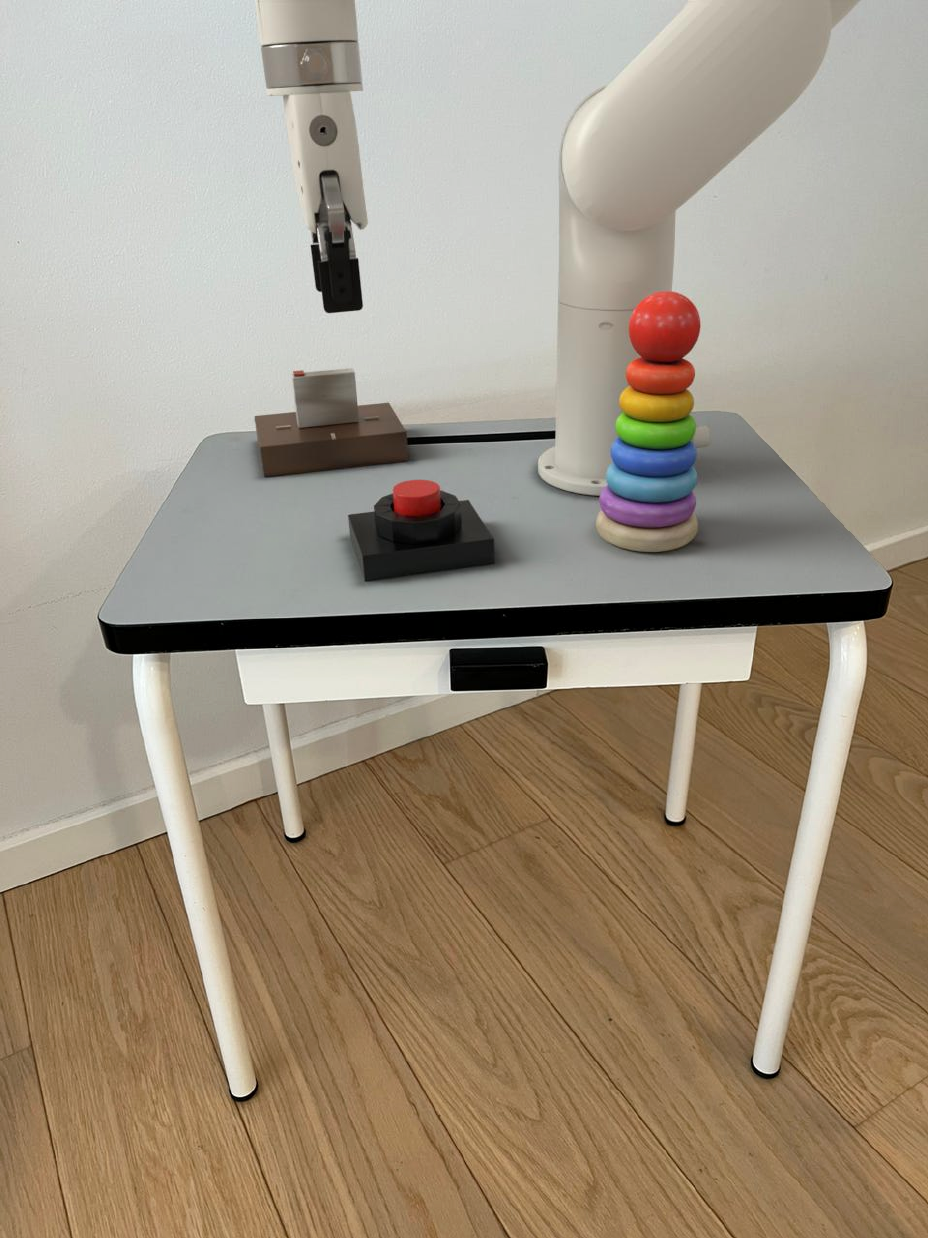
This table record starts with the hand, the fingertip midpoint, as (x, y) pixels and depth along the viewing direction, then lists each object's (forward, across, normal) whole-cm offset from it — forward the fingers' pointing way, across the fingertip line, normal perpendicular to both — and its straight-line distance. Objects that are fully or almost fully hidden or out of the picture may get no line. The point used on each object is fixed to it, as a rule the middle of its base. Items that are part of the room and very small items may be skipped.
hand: (338, 299), depth 82 cm
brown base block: (+16, +7, +2) cm, 17 cm away
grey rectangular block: (+13, +7, +2) cm, 15 cm away
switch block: (+16, -18, -3) cm, 25 cm away
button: (+13, -19, -3) cm, 23 cm away
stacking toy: (+17, -20, -21) cm, 34 cm away
